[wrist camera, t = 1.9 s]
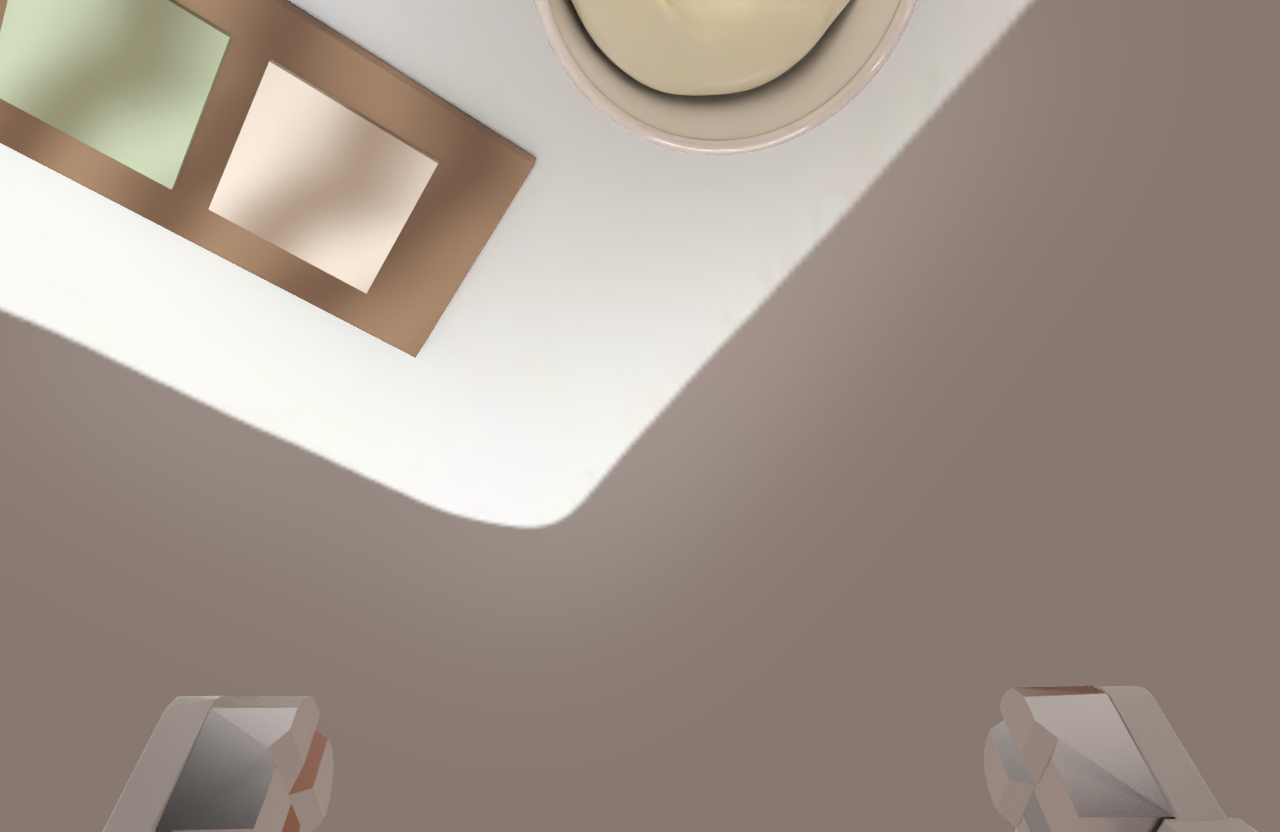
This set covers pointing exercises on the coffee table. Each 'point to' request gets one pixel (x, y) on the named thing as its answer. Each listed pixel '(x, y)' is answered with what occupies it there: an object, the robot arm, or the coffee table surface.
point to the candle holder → (722, 64)
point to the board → (263, 147)
